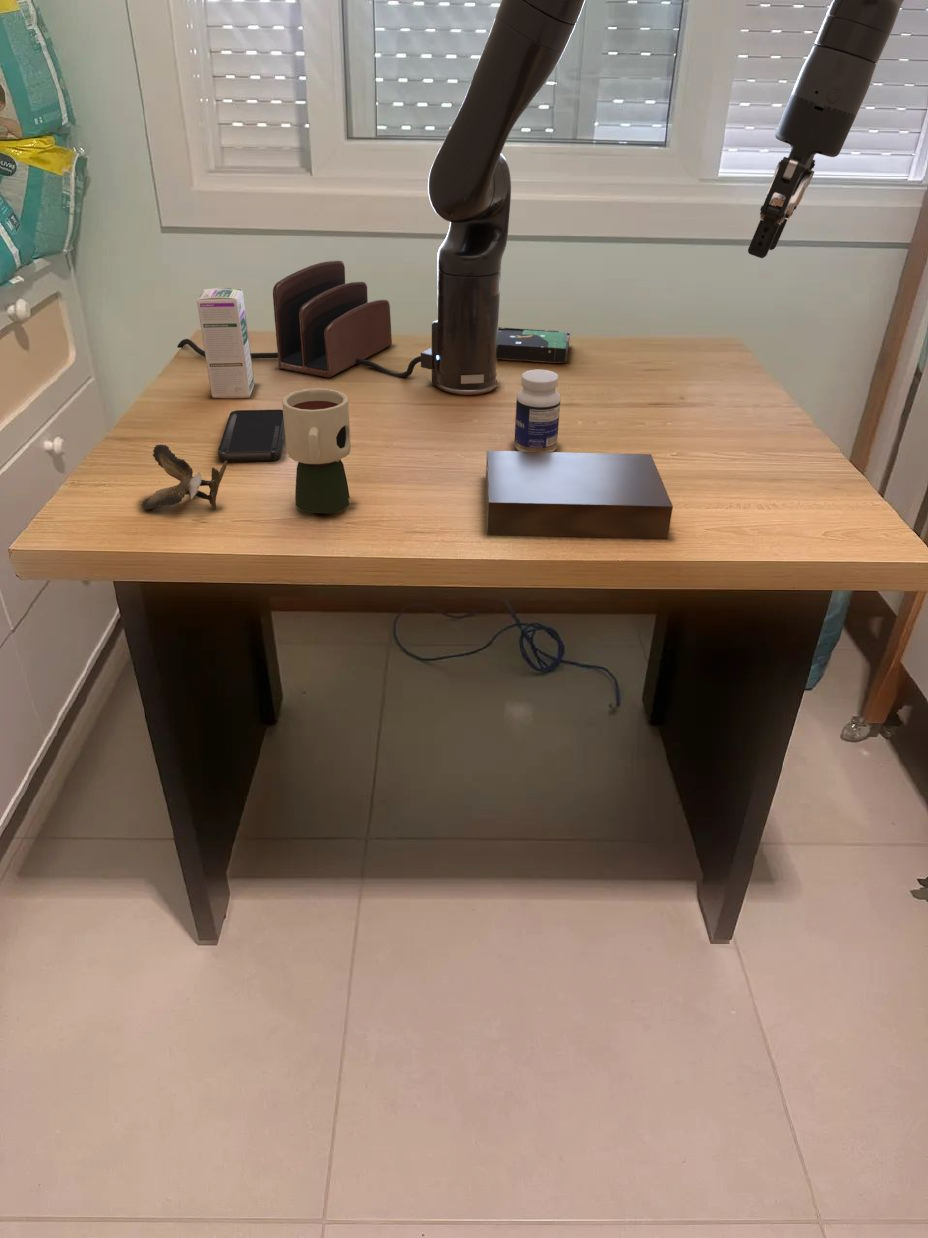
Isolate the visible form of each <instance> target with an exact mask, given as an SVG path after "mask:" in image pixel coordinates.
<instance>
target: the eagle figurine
mask: <svg viewBox="0 0 928 1238" xmlns="http://www.w3.org/2000/svg"><path fill="white" fill-rule="evenodd" d="M152 452H153V453H152V457H153V458H154V460H155V462H157V464H158V466H159V467H161V468H162V469H163V470H164V472H165V473H166V474H167V475H169V476H170V477H172V478H174V479H176V480H178V481H179V483H177V484H176V485H173V486H169V487H165V488H160V489H158V490H156V491H155V492H154V493H153V494H152V495H150V497H148V498H145V500H143V501H142V502H141V506H142V508H143V509H144V510H152V509H154V508H158V507H159V506H161V507H162V506H166V505H167V506H170V507H171V506H175V505H177V504H180V502H182V501H183V499H185V497H186V496H189V497H190V500H191V501H192V500H193V499H194V498H195V497H197V498H200V499H202V500H208V502H209V504H210V506H211V508H213V510H217V503H216V502H217V495H218V492H219V488H220V484H221V482H222V480H223V478H224V477H223V476H224V474H225V472H226V469H227V463H228V462H227V461H225V462H224V461H223V463H222V466H221V467H220V470H218V469H217V468H215V467H211V479H210V480H205V479H202V474H201V472H200V471H198V472H197V473H196V474H195V475H194V476H193V473H194V471H193V468H192V467H191V465H189V463H188V462H187V461H185V459H183V458H179V457H177V456H176V454H175V453H173V452H172V450H171V449H170V447H169V446H168V445H166V444H156V445H155V446H154V447H153V450H152ZM206 486H208V488H209V494H207V493H205V492H204V491H201V490H199V488H200V487H206Z"/></svg>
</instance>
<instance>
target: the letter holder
mask: <svg viewBox="0 0 928 1238" xmlns="http://www.w3.org/2000/svg"><path fill="white" fill-rule="evenodd" d="M272 301H273V303H272V304H273V314H274V315H273V316H274V325H275V326H274V327H275V328H274V329H275V339H276V349H277V352H278V358H277V364H278V368H279V370H286V371H290V372H296V373H301V374H306V375H311V376H315V377H316V376H317V377H320V378H321V377H322V378H326V379H330V378H332V377H334V376H335V375H338V374H339V373H342V372H344V371H345V370H347V369H349V368H351V367H353V366H355V365H357V363H356V359H357V358H360V359H364V360H367V359H368V358H370V357H372V356H374V355H376V354H378V353H379V352H381V351H383V350H385V349H387V348H389V347H391V346H393V338H392V337H393V336H392V320H391V303H390V302H389V300H388V299H377V300H373V301H369V302H368V285H367V283H366V281H350V282H346V267H345V263H344V262H343V261H342V260H328V261H323V262H318V263H315V264H312V265H309V266H306V267H303V268H302V269H299V270H296V271H295V272H293V273H291V274H289V275H287V276H286V277H283V278H282V279H280V280H279V281H277V282H276V283H275V284H274V286H273V288H272Z"/></svg>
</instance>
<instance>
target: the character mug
mask: <svg viewBox="0 0 928 1238" xmlns="http://www.w3.org/2000/svg"><path fill="white" fill-rule="evenodd" d="M281 405H282V407H281V408H282V410H283V417H284V427H285V436H284V438H285V446H286V447H285V448H286V451H287V455H288V458H290V459H292V460H293V461H295V462H297V464H296V471H295V472H296V475H295V489H294V490H295V496H294V497H295V498H294V499H295V500H294V501H295V502H294V503H295V506H296V508H297V509H299V510H300V511H304V512H308V513H315V514H316V513H317V514H330V515H332V514H333V515H334V514H337V513H339V512H343V511H345V510H346V509H347V508H348V507H350V500H351V496H350V490H349V485H348V479H347V474H346V469H345V465H344V462H343V461H342V459H344V458H346V457H347V456H349V455H350V453H351V447H352V446H351V444H352V443H351V426H350V411H349V410H350V408H349V407H350V406H349V397H348V395H347V394H345V393H343V392H341V391H338V390H335V389H330V388H318V387H315V388H303V389H300V390H295V391H292V392H290V393H288V394H285V395H284V397H283V398H282V399H281Z"/></svg>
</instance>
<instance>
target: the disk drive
mask: <svg viewBox="0 0 928 1238" xmlns="http://www.w3.org/2000/svg"><path fill="white" fill-rule="evenodd" d="M570 336H571V333H570V332H569V331H568V332H566V331H559V330H550V329H549V330H545V329H532V328H518V327H517V328H515V327H514V328H513V327H500V326H498V350H497V360H504V361H526V362H527V361H528V362H533V363H535V362H536V363H549V364H550V363H551V364H553V363H559V364H562V363H567V360H568V359H567V358H568V353H569V347H570V340H571V339H570V338H571V337H570Z"/></svg>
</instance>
